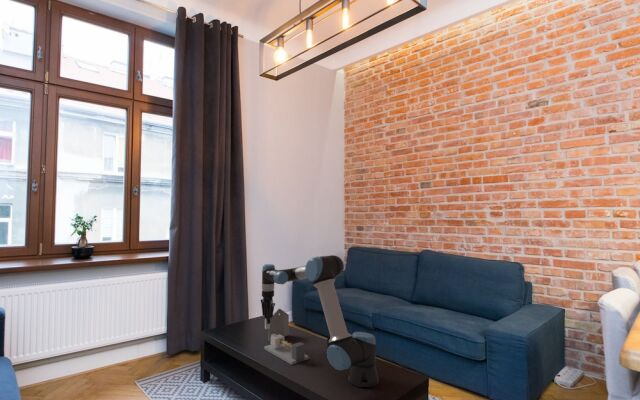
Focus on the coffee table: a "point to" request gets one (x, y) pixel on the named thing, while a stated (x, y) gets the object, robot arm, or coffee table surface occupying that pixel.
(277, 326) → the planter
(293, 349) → the light grey blocky piece
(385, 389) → the coffee table surface
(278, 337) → the sleeve
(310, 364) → the coffee table surface
